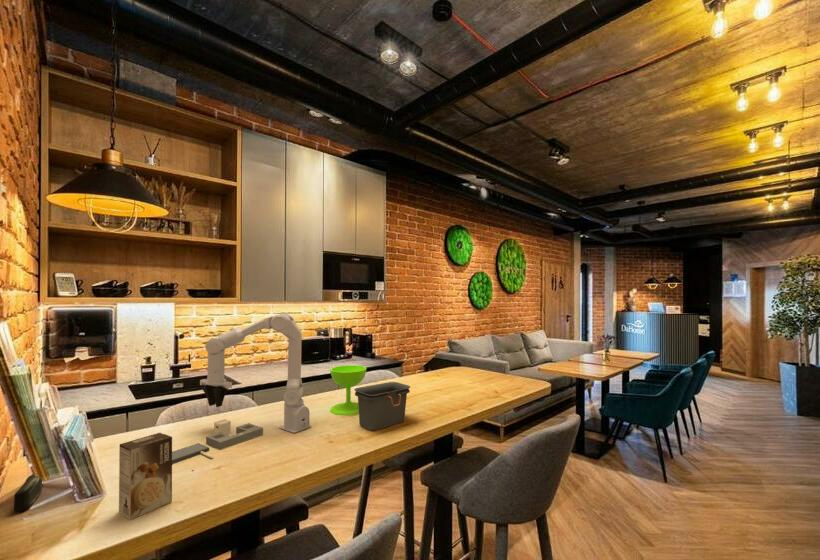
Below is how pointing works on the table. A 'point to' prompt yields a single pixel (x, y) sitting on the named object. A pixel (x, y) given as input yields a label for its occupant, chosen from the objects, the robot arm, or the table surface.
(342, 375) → the wineglass
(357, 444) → the table surface
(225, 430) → the beige cube
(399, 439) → the table surface
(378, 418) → the storage bin
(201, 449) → the grey flat pronged bracket
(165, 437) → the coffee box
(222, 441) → the grey compartment tray
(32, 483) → the black rounded bar
